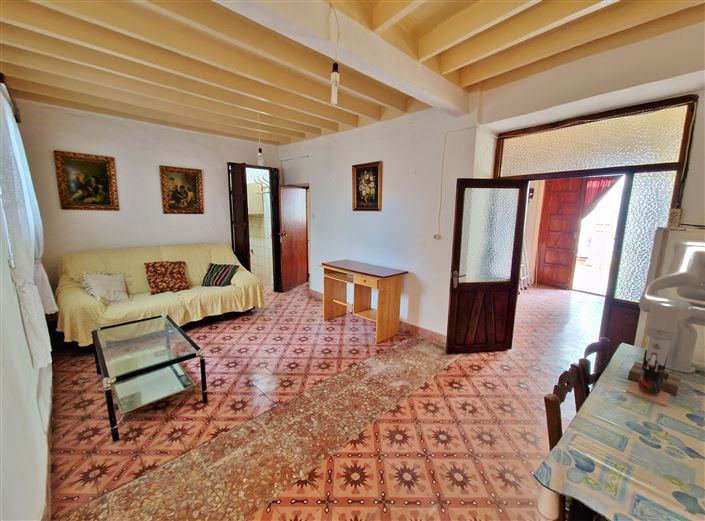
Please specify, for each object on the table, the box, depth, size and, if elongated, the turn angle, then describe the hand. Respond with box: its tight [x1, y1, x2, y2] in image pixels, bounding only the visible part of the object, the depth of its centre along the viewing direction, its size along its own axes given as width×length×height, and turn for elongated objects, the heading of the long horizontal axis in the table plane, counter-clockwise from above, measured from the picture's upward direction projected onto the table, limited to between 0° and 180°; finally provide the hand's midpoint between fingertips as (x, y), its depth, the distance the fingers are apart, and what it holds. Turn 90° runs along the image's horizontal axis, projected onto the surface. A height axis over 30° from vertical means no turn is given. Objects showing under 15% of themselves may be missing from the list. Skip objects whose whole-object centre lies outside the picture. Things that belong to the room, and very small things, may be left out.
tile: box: [626, 381, 671, 408], centre depth 114 cm, size 11×11×1 cm
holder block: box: [627, 361, 682, 397], centre depth 122 cm, size 14×14×4 cm
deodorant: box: [639, 349, 667, 394], centre depth 113 cm, size 6×6×15 cm
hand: (651, 376), depth 113 cm, fingers closed on deodorant, 5 cm apart
